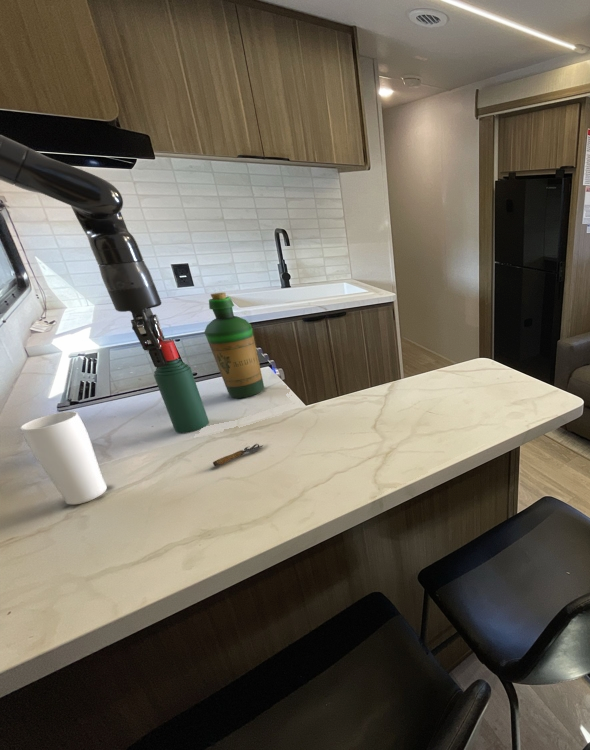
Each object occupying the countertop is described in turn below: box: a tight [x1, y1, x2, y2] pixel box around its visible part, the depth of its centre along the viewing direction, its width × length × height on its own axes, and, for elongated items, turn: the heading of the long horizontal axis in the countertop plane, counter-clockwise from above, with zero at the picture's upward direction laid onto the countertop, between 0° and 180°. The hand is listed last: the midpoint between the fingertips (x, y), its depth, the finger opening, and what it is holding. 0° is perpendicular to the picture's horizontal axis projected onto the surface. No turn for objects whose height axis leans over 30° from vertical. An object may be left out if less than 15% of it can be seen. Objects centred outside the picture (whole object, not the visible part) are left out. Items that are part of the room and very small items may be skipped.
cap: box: [160, 339, 180, 361], centre depth 88 cm, size 4×4×4 cm
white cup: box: [19, 411, 108, 506], centre depth 68 cm, size 7×7×15 cm
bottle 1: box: [153, 358, 210, 434], centre depth 91 cm, size 7×7×20 cm
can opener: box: [212, 443, 264, 468], centre depth 80 cm, size 9×2×1 cm, turn 140°
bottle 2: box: [204, 292, 265, 399], centre depth 109 cm, size 11×11×28 cm
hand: (162, 363), depth 89 cm, fingers closed on cap, 3 cm apart
